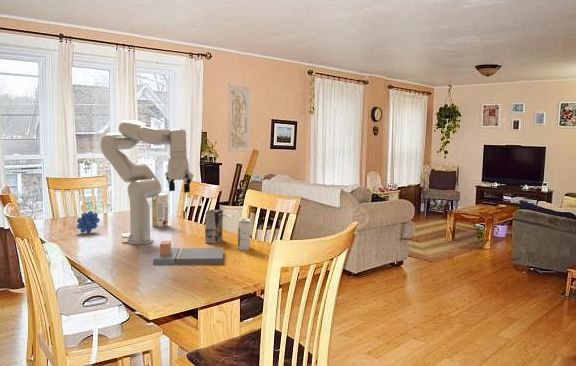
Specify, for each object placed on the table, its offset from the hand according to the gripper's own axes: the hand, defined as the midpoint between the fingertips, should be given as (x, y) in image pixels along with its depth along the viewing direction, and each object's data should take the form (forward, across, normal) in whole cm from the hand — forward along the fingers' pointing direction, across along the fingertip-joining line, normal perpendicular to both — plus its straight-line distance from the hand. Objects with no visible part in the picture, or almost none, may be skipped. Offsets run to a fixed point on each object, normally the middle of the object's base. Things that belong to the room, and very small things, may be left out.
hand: (179, 191), depth 220 cm
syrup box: (+29, +23, +20) cm, 42 cm away
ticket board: (+29, +18, -6) cm, 34 cm away
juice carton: (+27, -49, +33) cm, 65 cm away
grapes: (+26, -66, -3) cm, 72 cm away
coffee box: (+28, +2, +22) cm, 36 cm away
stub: (+28, +6, -15) cm, 33 cm away
